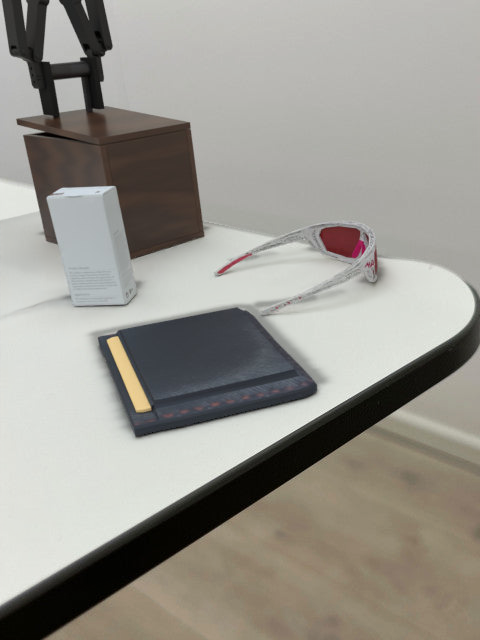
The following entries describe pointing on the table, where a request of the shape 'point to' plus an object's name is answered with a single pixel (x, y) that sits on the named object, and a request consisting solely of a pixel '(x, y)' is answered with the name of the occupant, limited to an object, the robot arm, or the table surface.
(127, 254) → the cosmetic box
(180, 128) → the lid
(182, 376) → the wallet
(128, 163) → the chest
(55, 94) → the robot arm
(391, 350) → the table surface
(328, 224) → the sunglasses
